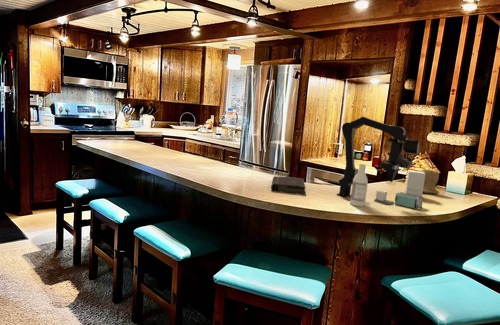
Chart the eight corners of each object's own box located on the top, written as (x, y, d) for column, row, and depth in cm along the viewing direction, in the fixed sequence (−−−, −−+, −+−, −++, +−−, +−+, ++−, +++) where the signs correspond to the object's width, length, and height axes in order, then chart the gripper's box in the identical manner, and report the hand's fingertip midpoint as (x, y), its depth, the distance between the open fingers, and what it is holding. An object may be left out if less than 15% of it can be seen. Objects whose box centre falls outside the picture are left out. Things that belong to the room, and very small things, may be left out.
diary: (270, 192, 199) (271, 182, 199) (272, 183, 224) (272, 175, 223) (306, 195, 198) (307, 186, 197) (303, 186, 223) (304, 178, 222)
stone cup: (433, 192, 249) (436, 169, 247) (441, 195, 237) (445, 172, 235) (409, 189, 249) (413, 167, 247) (417, 193, 237) (420, 169, 235)
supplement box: (420, 196, 228) (424, 171, 226) (421, 199, 219) (425, 173, 217) (404, 193, 231) (407, 169, 229) (405, 196, 222) (409, 171, 220)
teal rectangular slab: (414, 208, 191) (416, 198, 190) (413, 208, 189) (414, 198, 188) (395, 203, 197) (396, 194, 197) (393, 203, 196) (395, 194, 195)
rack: (417, 209, 189) (418, 198, 188) (393, 203, 197) (395, 193, 196) (423, 207, 195) (425, 196, 194) (400, 202, 203) (401, 191, 202)
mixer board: (388, 204, 194) (389, 202, 193) (374, 201, 199) (374, 199, 199) (393, 203, 198) (394, 201, 198) (379, 200, 203) (379, 198, 203)
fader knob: (382, 200, 197) (384, 192, 196) (375, 199, 199) (376, 190, 199) (386, 200, 200) (387, 191, 199) (378, 198, 202) (380, 189, 202)
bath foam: (353, 202, 190) (358, 163, 188) (366, 205, 186) (372, 165, 184) (347, 204, 185) (352, 163, 183) (360, 207, 181) (366, 166, 178)
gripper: (404, 154, 179) (399, 186, 181) (418, 153, 192) (413, 183, 194) (381, 150, 186) (377, 181, 188) (397, 150, 200) (392, 179, 202)
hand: (391, 181), depth 193 cm, fingers closed
